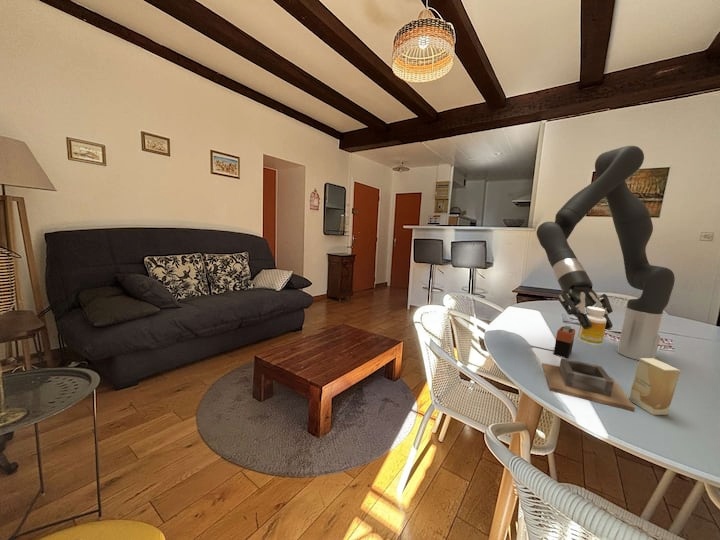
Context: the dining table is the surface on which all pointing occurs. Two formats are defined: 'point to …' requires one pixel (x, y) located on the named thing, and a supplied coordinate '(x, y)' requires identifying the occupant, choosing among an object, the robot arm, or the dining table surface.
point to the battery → (564, 341)
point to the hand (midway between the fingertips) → (598, 328)
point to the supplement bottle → (593, 327)
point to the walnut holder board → (585, 383)
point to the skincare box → (654, 386)
